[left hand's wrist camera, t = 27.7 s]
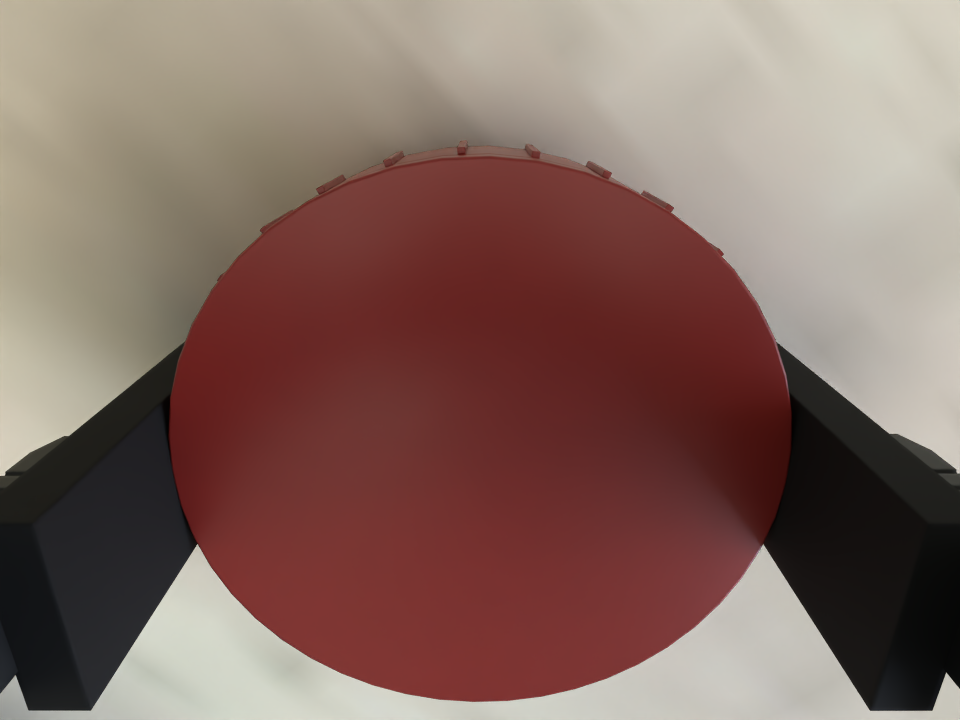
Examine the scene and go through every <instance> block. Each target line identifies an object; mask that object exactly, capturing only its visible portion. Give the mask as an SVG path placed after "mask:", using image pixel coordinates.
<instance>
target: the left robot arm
mask: <svg viewBox="0 0 960 720" xmlns="http://www.w3.org/2000/svg"><path fill="white" fill-rule="evenodd" d="M184 344H185V342H184V343H183V344H181V345H180V346H179V347H178V348H177V349H175V350H174V351H173V352H172V353H170V354H169V355H168V356H167V357H166V358H164V359H163V360H162V361H161V362H159V363H158V364H157V365H156V366H154V367H153V368H152V369H151V370H150V371H148V372H147V373H146V374H145V375H143V376H142V377H141V378H140V379H139V380H137V381H136V382H135V383H134V384H132V385H131V386H130V387H129V388H127V389H126V390H125V391H124V392H123V393H121V394H120V395H119V396H118V397H116V398H115V399H114V400H113V401H111V402H110V403H109V404H108V405H107V406H105V407H104V408H103V409H102V410H100V411H99V412H98V413H97V414H96V415H94V416H93V417H92V418H91V419H89V420H88V421H87V422H86V423H84V424H83V425H82V426H81V427H80V428H78V429H77V430H76V431H75V432H73V433H72V434H71V435H70V436H64V437H62V438H60V439H57V440H55V441H53V442H51V443H49V444H47V445H45V446H43V447H41V448H39V449H37V450H35V451H33V452H31V453H29V454H28V455H27V456H25V457H24V458H23V459H21V460H20V461H19V462H18V463H16V464H15V465H14V466H12V467H11V468H10V469H9V470H7V471H6V472H5V473H6V474H5V476H0V693H1V692H2V691H3V690H4V688H5V687H6V686H7V685H8V683H9V682H10V681H11V680H12V678H13V677H14V676H15V675H16V677H17V679H18V682H19V685H20V688H21V691H22V693H23V696H24V699H25V702H26V704H27V707H28V710H82V711H91V709H92V708H93V706H94V705H95V703H96V702H97V700H98V699H99V697H100V695H101V694H102V692H103V691H104V689H105V688H106V686H107V684H108V683H109V681H110V680H111V678H112V677H113V675H114V674H115V672H116V670H117V669H118V667H119V666H120V664H121V663H122V661H123V659H124V658H125V656H126V655H127V653H128V652H129V650H130V649H131V647H132V645H133V644H134V642H135V641H136V639H137V638H138V636H139V634H140V633H141V631H142V630H143V628H144V627H145V625H146V624H147V622H148V620H149V619H150V617H151V616H152V614H153V613H154V611H155V609H156V608H157V606H158V605H159V603H160V602H161V600H162V599H163V597H164V595H165V594H166V592H167V591H168V589H169V588H170V586H171V584H172V583H173V581H174V580H175V578H176V577H177V575H178V574H179V572H180V570H181V569H182V567H183V566H184V564H185V563H186V561H187V559H188V558H189V556H190V555H191V553H192V552H193V550H194V549H195V547H196V545H197V542H196V540H195V538H194V536H193V534H192V532H191V529H190V527H189V524H188V522H187V519H186V517H185V514H184V512H183V510H182V507H181V505H180V501H179V497H178V493H177V489H176V484H175V480H174V475H173V470H172V465H171V456H170V446H169V436H168V434H169V415H170V397H171V392H172V388H173V383H174V378H175V373H176V368H177V364H178V360H179V357H180V354H181V352H182V349H183V347H184ZM776 344H777V347H778V350H779V353H780V356H781V360H782V363H783V366H784V369H785V373H786V376H787V383H788V390H789V397H790V404H791V411H792V442H791V455H790V461H789V468H788V473H787V478H786V483H785V488H784V492H783V495H782V498H781V501H780V505H779V508H778V511H777V514H776V517H775V520H774V522H773V524H772V526H771V528H770V530H769V532H768V534H767V536H766V539H765V541H764V543H763V544H764V546H765V547H766V549H767V550H768V552H769V554H770V555H771V557H772V558H773V560H774V561H775V563H776V565H777V566H778V568H779V569H780V571H781V572H782V574H783V575H784V577H785V579H786V580H787V582H788V583H789V585H790V586H791V588H792V590H793V591H794V593H795V594H796V596H797V597H798V599H799V600H800V602H801V604H802V605H803V607H804V608H805V610H806V611H807V613H808V614H809V616H810V618H811V619H812V621H813V622H814V624H815V625H816V627H817V629H818V630H819V632H820V633H821V635H822V636H823V638H824V639H825V641H826V643H827V644H828V646H829V647H830V649H831V650H832V652H833V654H834V655H835V657H836V658H837V660H838V661H839V663H840V664H841V666H842V668H843V669H844V671H845V672H846V674H847V675H848V677H849V679H850V680H851V682H852V683H853V685H854V686H855V688H856V689H857V691H858V693H859V694H860V696H861V697H862V699H863V700H864V702H865V703H866V705H867V707H868V708H869V710H870V711H932V710H933V707H934V705H935V702H936V699H937V696H938V694H939V691H940V688H941V685H942V682H943V680H944V677H945V674H946V672H947V674H948V675H949V676H950V677H951V679H952V680H953V681H954V682H955V683H956V685H957V686H958V687H959V688H960V474H957V472H956V469H955V468H954V467H952V466H951V465H950V464H948V463H947V462H946V461H945V460H943V459H942V458H941V457H939V456H938V455H937V454H936V453H934V452H933V451H932V450H930V449H928V448H925V447H923V446H921V445H919V444H917V443H915V442H913V441H911V440H909V439H907V438H905V437H902V436H900V435H898V434H889V433H887V432H886V431H885V430H884V429H883V428H881V427H880V426H879V425H878V424H876V423H875V422H874V421H873V420H871V419H870V418H869V417H868V416H867V415H865V414H864V413H863V412H862V411H860V410H859V409H858V408H857V407H855V406H854V405H853V404H852V403H851V402H849V401H848V400H847V399H846V398H844V397H843V396H842V395H841V394H839V393H838V392H837V391H836V390H835V389H833V388H832V387H831V386H830V385H828V384H827V383H826V382H825V381H824V380H822V379H821V378H820V377H819V376H817V375H816V374H815V373H814V372H812V371H811V370H810V369H809V368H808V367H806V366H805V365H804V364H803V363H801V362H800V361H799V360H798V359H796V358H795V357H794V356H793V355H792V354H790V353H789V352H788V351H787V350H785V349H784V348H783V347H782V346H781V345H779V344H778V343H777V342H776Z"/></svg>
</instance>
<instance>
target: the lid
mask: <svg viewBox="0 0 960 720" xmlns="http://www.w3.org/2000/svg"><path fill="white" fill-rule="evenodd" d="M383 162H384V163H382V164H379V165H376V166H373V167H370V168H368V169H366V170H364V171H362V172H360V173H358V174H356V175H354V176H352V177H350V178H348V179H345V177H344V175H341V176H339V177H337V178H335V179H333V180H332V181H330V182H328V183H326V184H324V185H322V186H321V187H319V188H317V189H316V190H317V192H318V193H319V195H317V196H316V197H314V198H312V199H310V200H309V201H307V202H305V203H304V204H303V205H301V206H300V207H298V208H297V209H295V210H294V211H293V210H291V211H289V212H287V213H286V214H284V215H282V216H280V217H279V218H277V219H275V220H274V221H272V222H270V223H268V224H267V225H265V226H264V227H263V228H261V229H260V231H261V232H262V233H263V234H262V235H261V236H260V237H258V238H257V239H256V240H255V241H254V242H253V243H252V244H251V245H250V246H249V247H248V248H247V249H246V250H245V251H243V252H242V253H241V254H240V255H239V256H238V257H237V258H236V260H235V261H234V262H233V263H232V265H231V266H230V267H229V268H228V270H227V271H226V272H225V273H223V274H222V275H220V277H219V278H218V280H217V281H218V282H217V284H216V285H215V286H214V287H213V289H212V290H211V292H210V294H209V295H208V297H207V299H206V301H205V302H204V304H203V306H202V308H201V309H200V311H199V313H198V315H197V316H196V318H195V320H194V322H193V323H192V325H191V328H190V331H189V333H188V336H187V339H186V341H185V344H184V347H183V349H182V352H181V354H180V357H179V360H178V364H177V368H176V373H175V378H174V383H173V388H172V392H171V397H170V415H169V434H168V436H169V446H170V456H171V465H172V470H173V475H174V480H175V484H176V489H177V493H178V497H179V501H180V505H181V507H182V510H183V512H184V514H185V517H186V519H187V522H188V524H189V527H190V529H191V532H192V534H193V536H194V538H195V540H196V542H197V544H198V545H199V547H200V549H201V550H202V552H203V554H204V556H205V557H206V559H207V561H208V563H209V564H210V566H211V568H212V569H213V570H214V571H215V573H216V574H217V575H218V577H219V578H220V579H221V581H222V582H223V583H224V585H225V586H226V587H227V589H228V590H229V591H230V592H231V594H232V595H233V596H234V597H235V598H236V599H237V600H238V601H239V602H240V603H241V604H242V605H243V606H244V607H245V608H246V609H247V610H248V611H249V612H250V613H251V614H252V615H253V616H254V617H255V618H256V619H257V620H258V621H259V622H261V623H262V624H263V625H264V626H266V627H267V628H268V629H269V630H271V631H272V632H273V633H274V634H276V635H277V636H278V637H279V638H280V639H282V640H283V641H285V642H286V643H288V644H289V645H291V646H293V647H294V648H296V649H297V650H299V651H300V652H302V653H304V654H305V655H307V656H308V657H310V658H312V659H314V660H316V661H318V662H320V663H322V664H324V665H326V666H328V667H330V668H332V669H334V670H336V671H338V672H340V673H342V674H344V675H347V676H350V677H352V678H355V679H358V680H360V681H363V682H366V683H368V684H371V685H374V686H378V687H381V688H385V689H389V690H393V691H396V692H400V693H404V694H409V695H415V696H421V697H427V698H433V699H439V700H454V701H469V702H484V701H510V700H518V699H526V698H534V697H542V696H546V695H551V694H555V693H560V692H564V691H568V690H573V689H576V688H579V687H582V686H585V685H589V684H592V683H595V682H598V681H601V680H604V679H607V678H609V677H611V676H613V675H616V674H618V673H620V672H622V671H625V670H627V669H629V668H631V667H633V666H636V665H638V664H640V663H641V662H643V661H645V660H647V659H648V658H650V657H652V656H653V655H655V654H657V653H659V652H660V651H662V650H664V649H665V648H667V647H669V646H670V645H671V644H673V643H674V642H675V641H677V640H678V639H679V638H681V637H682V636H684V635H685V634H686V633H688V632H689V631H690V630H692V629H693V628H694V627H696V626H697V625H698V624H699V623H700V622H701V621H702V620H703V619H704V618H705V617H706V616H707V615H708V614H710V613H711V612H712V611H713V610H714V609H715V608H716V607H717V606H718V605H719V604H720V603H721V602H722V601H723V600H724V598H725V597H726V596H727V595H728V594H729V592H730V591H731V590H732V589H733V588H734V587H735V585H736V584H737V583H738V582H739V581H740V579H741V578H742V577H743V575H744V574H745V572H746V571H747V569H748V568H749V566H750V565H751V563H752V561H753V560H754V558H755V557H756V555H757V554H758V552H759V551H760V549H761V547H762V545H763V543H764V541H765V539H766V536H767V534H768V532H769V530H770V528H771V526H772V524H773V522H774V520H775V517H776V514H777V511H778V508H779V505H780V501H781V498H782V495H783V492H784V488H785V483H786V478H787V473H788V468H789V461H790V455H791V442H792V411H791V404H790V397H789V390H788V383H787V376H786V373H785V369H784V366H783V363H782V360H781V356H780V353H779V350H778V347H777V344H776V340H775V338H774V336H773V334H772V332H771V330H770V327H769V325H768V323H767V321H766V319H765V317H764V315H763V313H762V311H761V309H760V307H759V305H758V303H757V302H756V300H755V299H754V297H753V296H752V294H751V293H750V292H749V290H748V289H747V287H746V286H745V284H744V283H743V282H742V280H741V279H740V277H739V276H738V274H737V273H736V272H735V270H734V269H733V268H732V267H731V266H730V265H729V264H728V263H727V262H726V261H725V259H724V258H723V257H722V256H723V255H724V254H723V252H722V251H721V250H720V249H718V248H717V247H715V246H714V245H712V244H710V243H709V242H707V241H706V240H705V239H704V238H703V237H702V236H701V235H699V234H698V233H697V232H696V231H694V230H693V229H692V228H690V227H689V226H688V225H686V224H685V223H684V222H683V221H681V220H680V219H679V218H677V217H676V216H675V215H674V214H672V213H671V212H672V210H673V209H674V207H672V206H671V205H669V204H668V203H666V202H664V201H662V200H660V199H659V198H657V197H655V196H653V195H651V194H649V193H648V192H646V191H643V192H642V194H639V193H637V192H636V191H634V190H632V189H630V188H629V187H627V186H625V185H623V184H622V183H620V182H618V181H616V180H614V179H613V178H611V177H610V176H611V174H612V173H611V172H609V171H607V170H606V169H604V168H602V167H600V166H598V165H596V164H595V163H592V162H590V161H588V163H587V165H586V166H584V165H581V164H579V163H576V162H573V161H571V160H568V159H565V158H561V157H557V156H553V155H548V154H544V153H540V151H539V150H537V149H536V148H535V147H534V146H533V145H529V144H526V145H525V149H516V148H506V147H495V146H472V147H467V141H460V143H459V145H458V147H448V148H443V149H437V150H432V151H426V152H421V153H415V154H410V155H406V156H404V154H403V151H400V152H396V153H395V154H393V155H392V156H390V157H388V158H387V159H385V160H384V161H383Z"/></svg>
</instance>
